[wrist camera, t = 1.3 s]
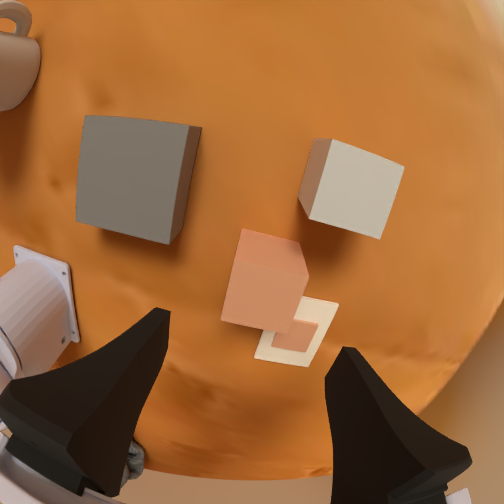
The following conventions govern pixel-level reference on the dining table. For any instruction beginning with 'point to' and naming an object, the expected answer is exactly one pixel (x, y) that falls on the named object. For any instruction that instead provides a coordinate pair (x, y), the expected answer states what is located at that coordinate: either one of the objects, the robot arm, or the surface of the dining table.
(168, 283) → the dining table surface
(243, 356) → the dining table surface
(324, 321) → the card
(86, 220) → the grey slab
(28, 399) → the robot arm
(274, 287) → the terracotta block
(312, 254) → the dining table surface
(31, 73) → the cup
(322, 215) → the beige block
